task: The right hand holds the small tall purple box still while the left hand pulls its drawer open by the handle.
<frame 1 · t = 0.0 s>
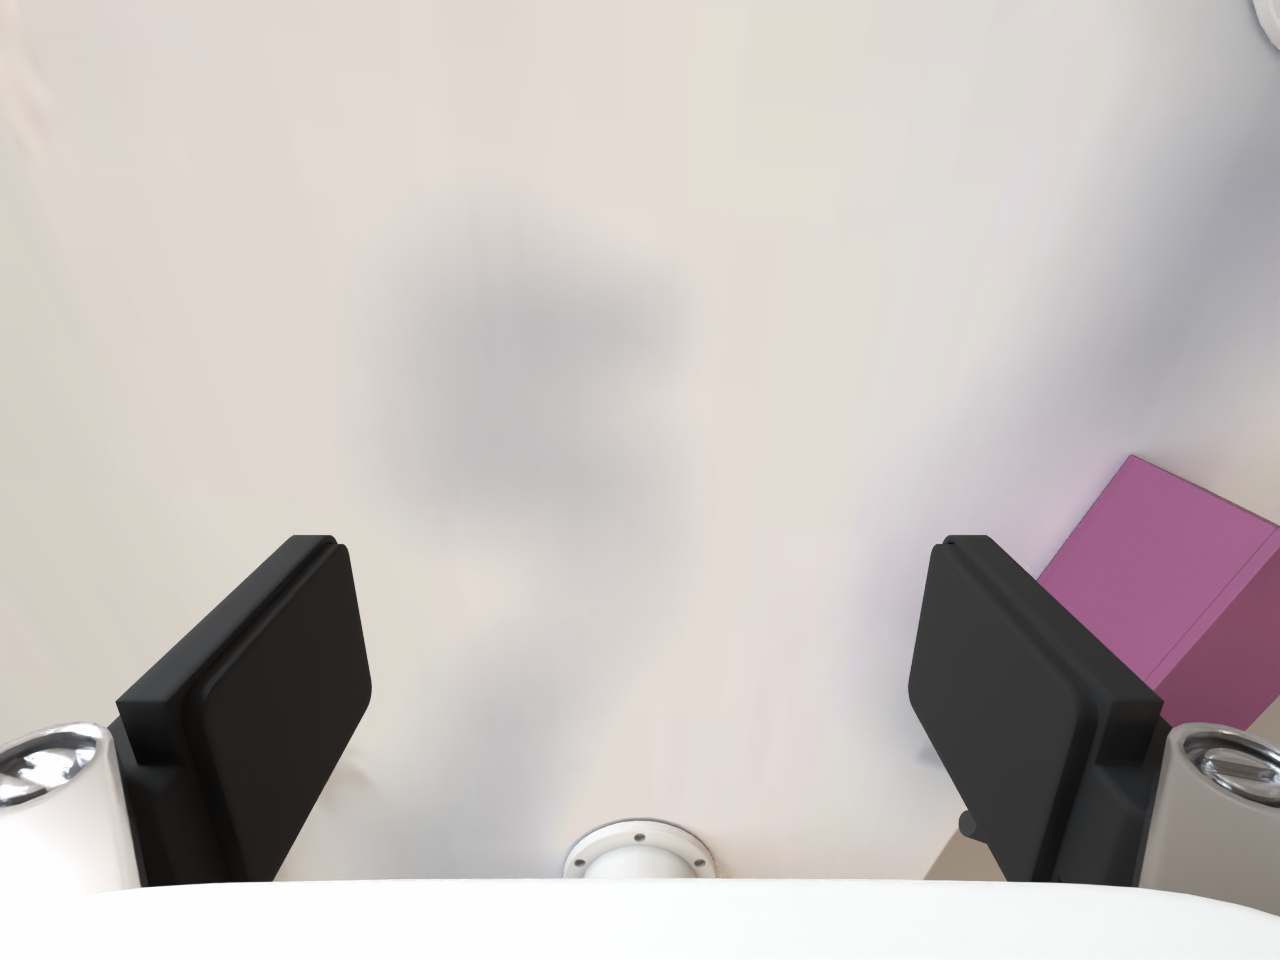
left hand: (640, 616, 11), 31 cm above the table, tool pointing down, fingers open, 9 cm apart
tall purple box: (1084, 584, 47), on the table
drawer: (1080, 704, 43), point 6 cm above the table, slide at 1.4 cm
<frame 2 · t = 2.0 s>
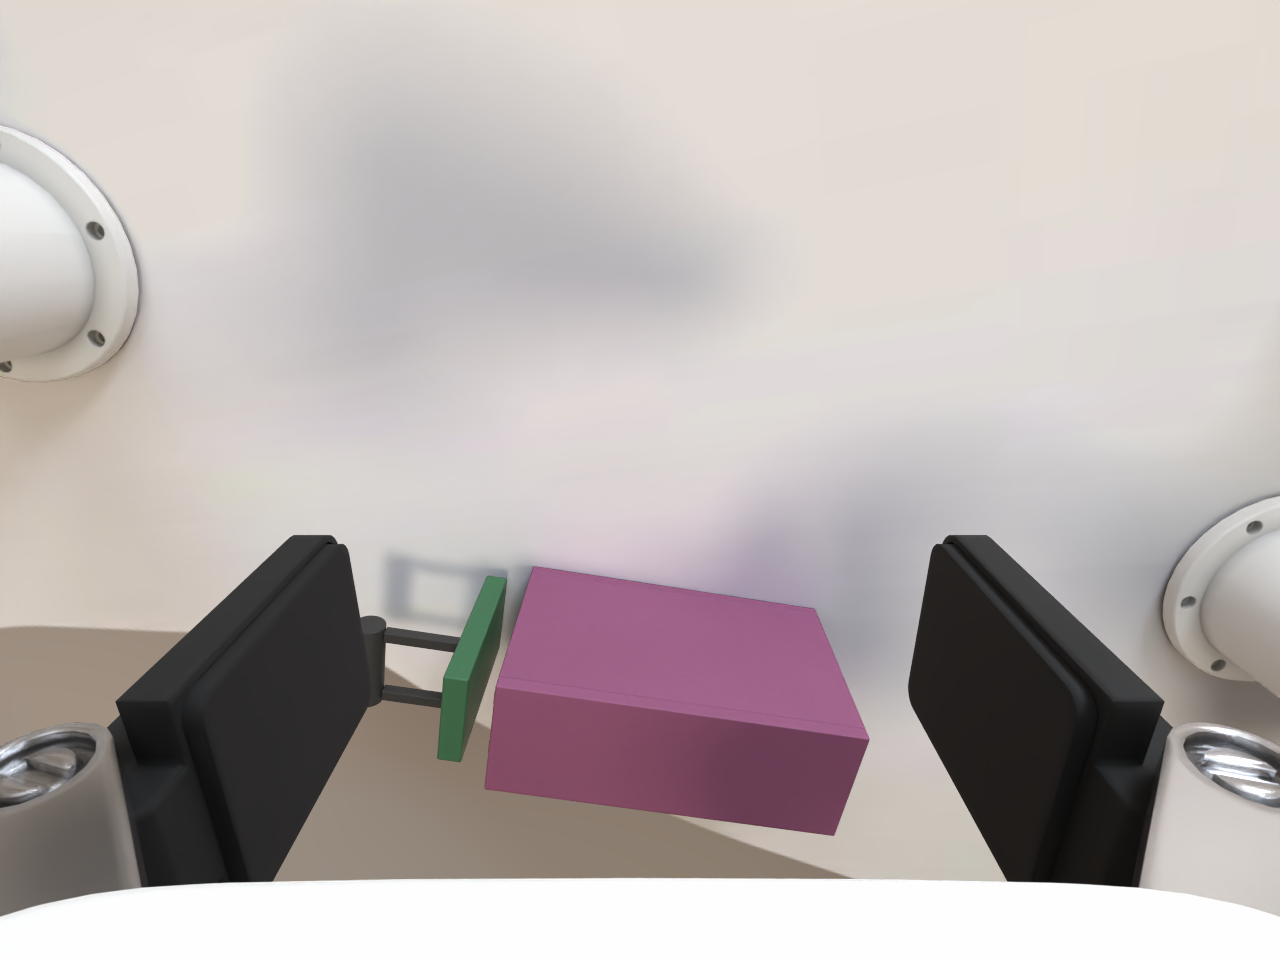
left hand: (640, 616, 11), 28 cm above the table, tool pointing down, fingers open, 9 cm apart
tall purple box: (666, 629, 44), on the table
drawer: (565, 673, 38), point 6 cm above the table, slide at 1.4 cm
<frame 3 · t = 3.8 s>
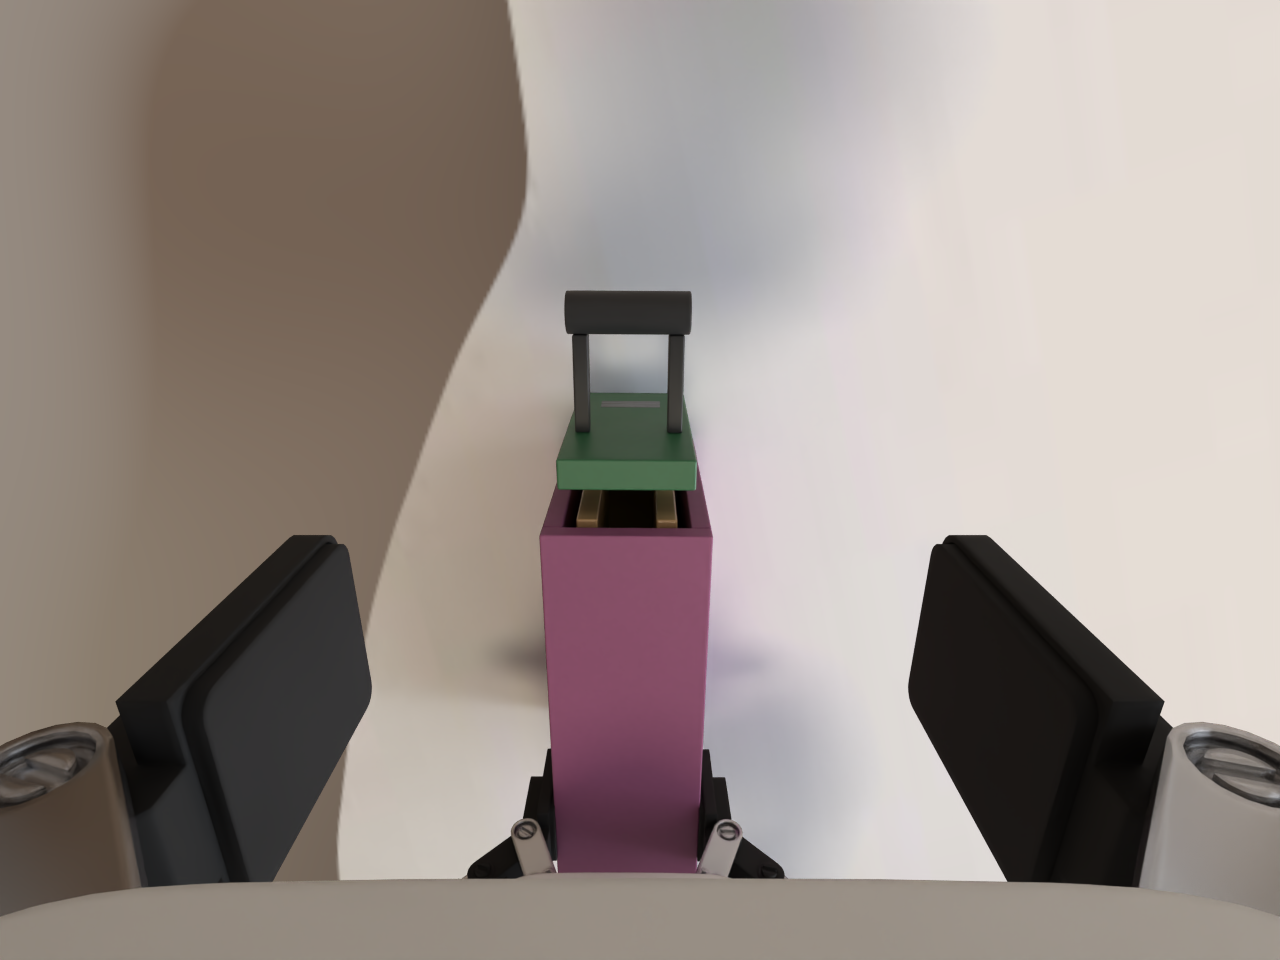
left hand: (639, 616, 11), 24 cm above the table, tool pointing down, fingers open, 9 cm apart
tall purple box: (631, 587, 39), on the table, touching right hand
drawer: (629, 539, 31), point 6 cm above the table, slide at 1.4 cm
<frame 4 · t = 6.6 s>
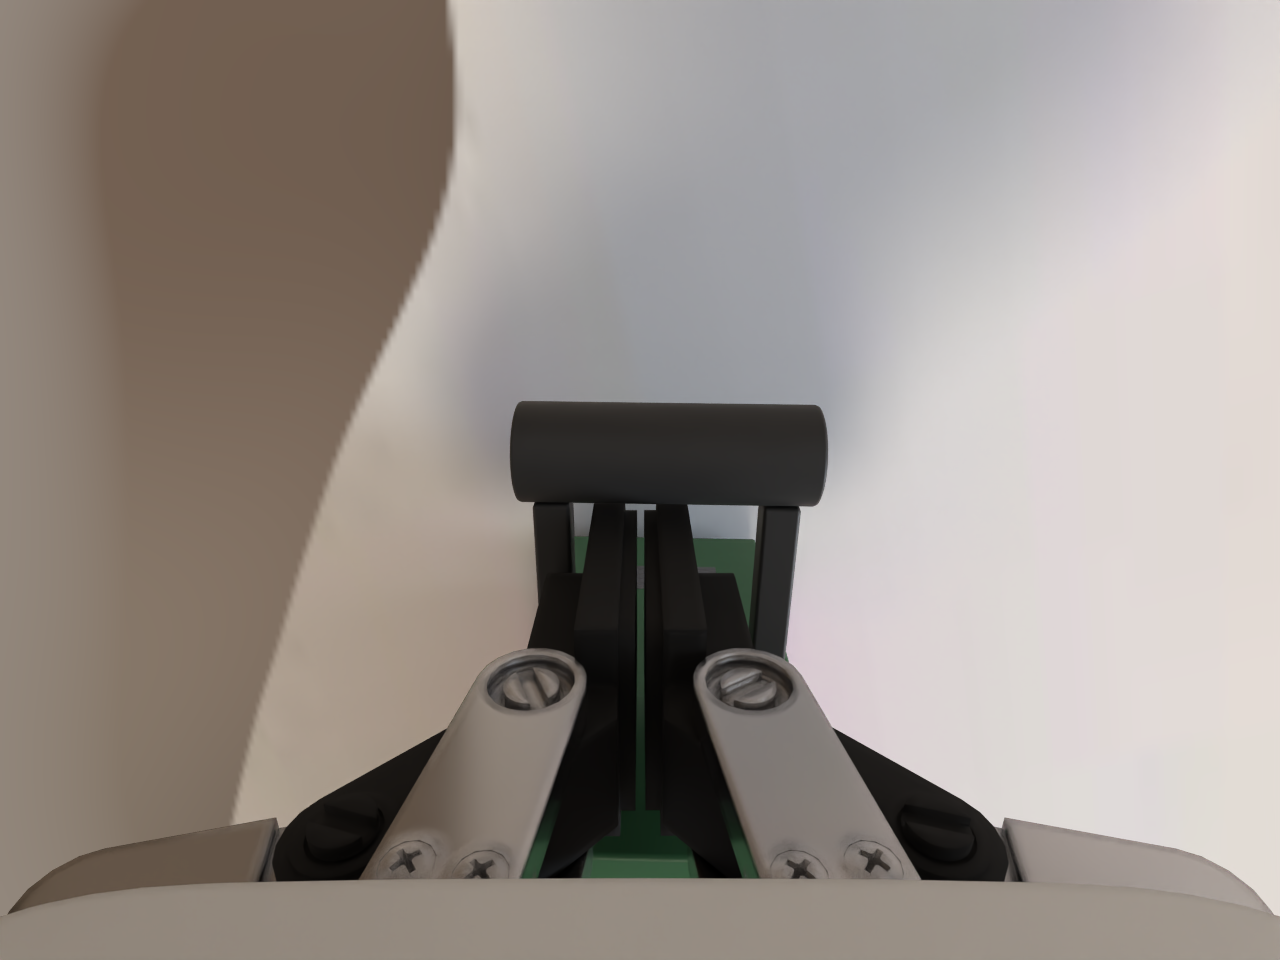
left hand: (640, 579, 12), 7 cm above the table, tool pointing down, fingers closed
drawer: (656, 842, 16), point 6 cm above the table, slide at 0.8 cm, touching left hand
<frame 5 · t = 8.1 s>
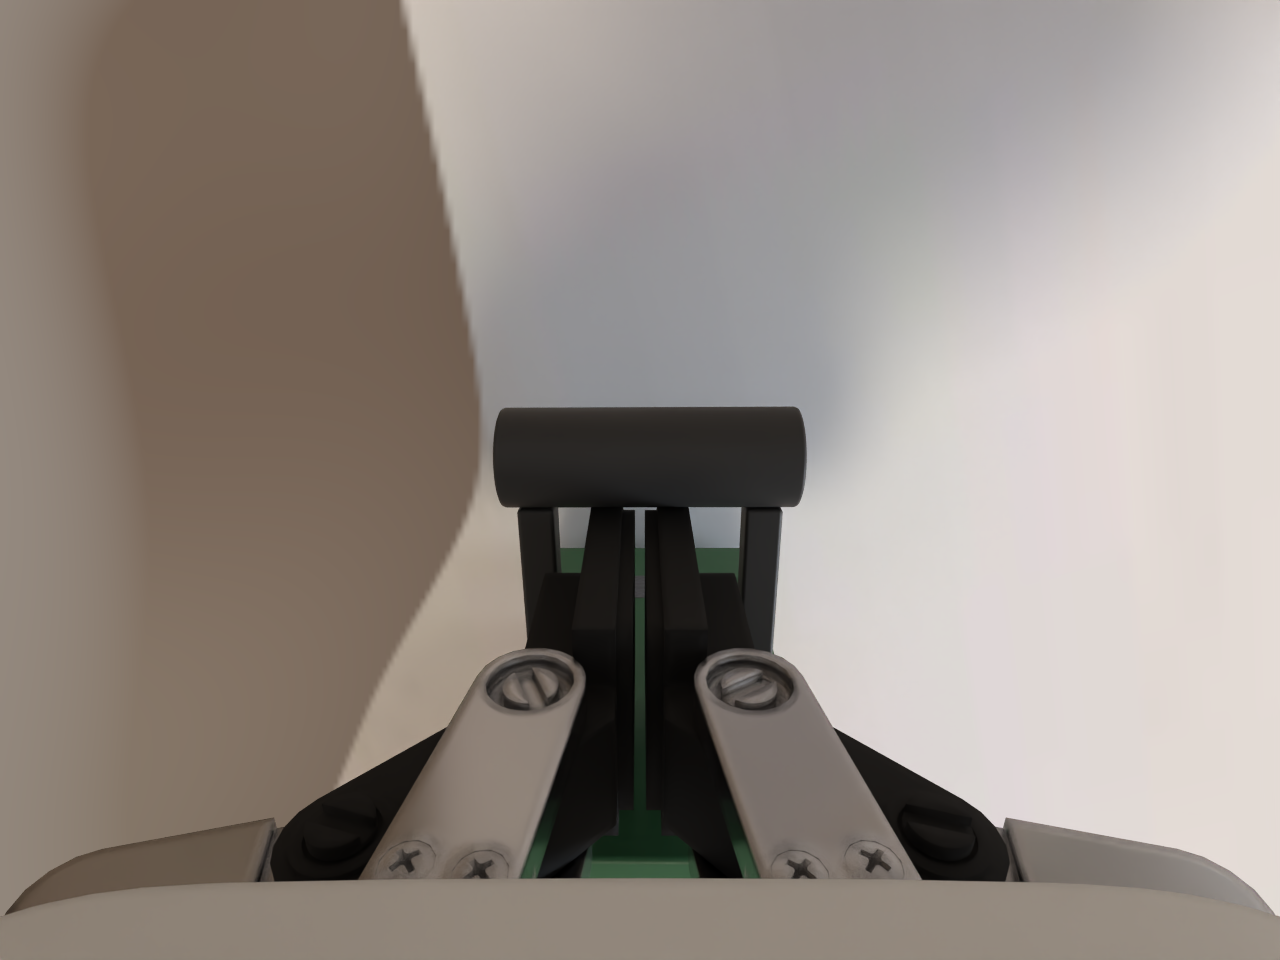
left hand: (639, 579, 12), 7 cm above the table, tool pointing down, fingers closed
drawer: (650, 854, 16), point 6 cm above the table, slide at 8.0 cm, touching left hand
when the right hand's fingers open (8 cm above the table, at t = 9.5 s): tall purple box stays where it is, on the table.
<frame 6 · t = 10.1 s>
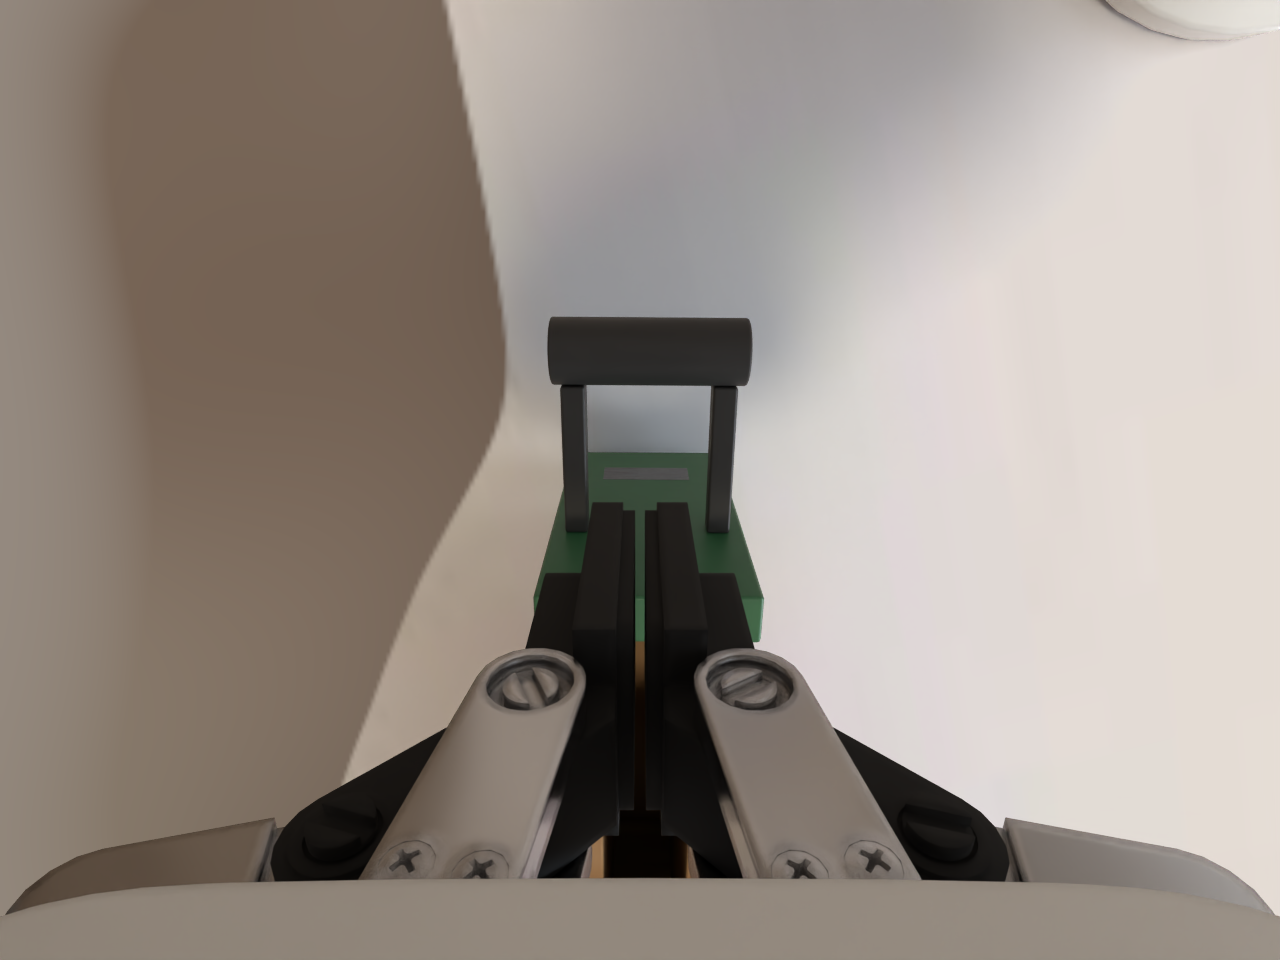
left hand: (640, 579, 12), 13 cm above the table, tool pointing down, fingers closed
drawer: (644, 670, 22), point 6 cm above the table, slide at 8.3 cm
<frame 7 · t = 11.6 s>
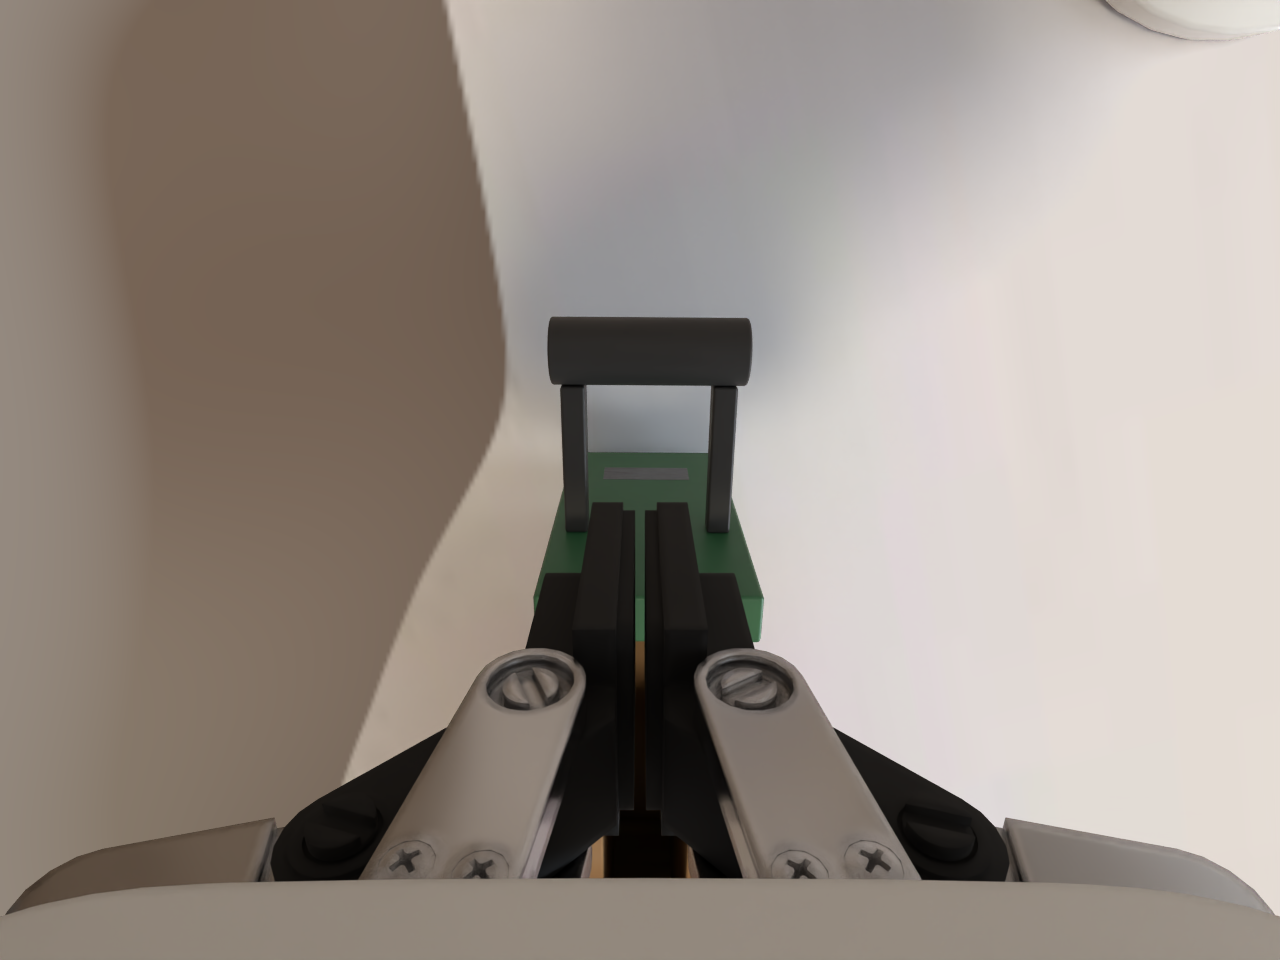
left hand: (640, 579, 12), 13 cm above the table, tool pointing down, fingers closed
drawer: (644, 670, 22), point 6 cm above the table, slide at 8.3 cm
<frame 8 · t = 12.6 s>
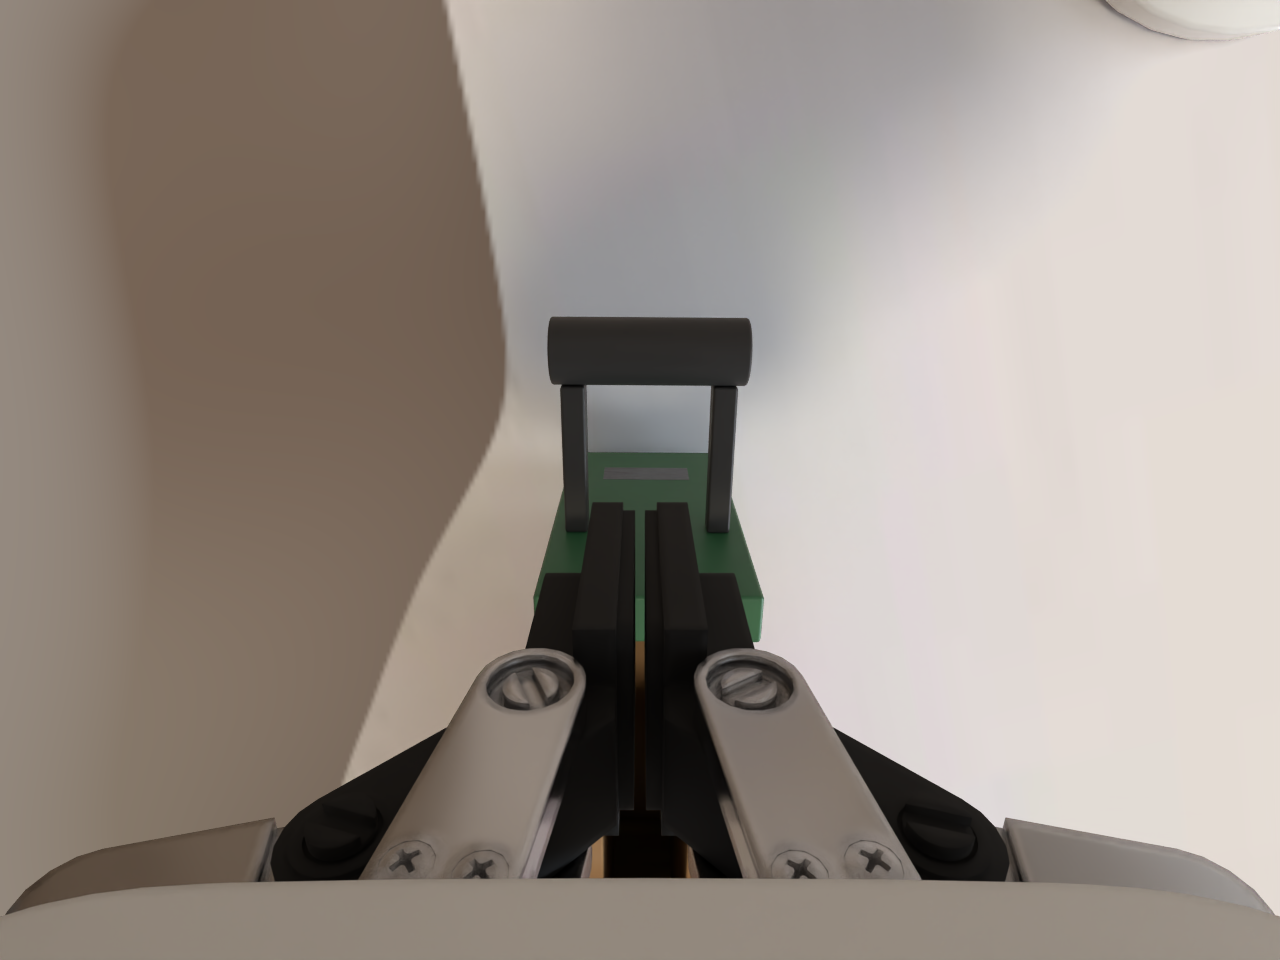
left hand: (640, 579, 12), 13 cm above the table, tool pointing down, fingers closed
drawer: (644, 670, 22), point 6 cm above the table, slide at 8.3 cm
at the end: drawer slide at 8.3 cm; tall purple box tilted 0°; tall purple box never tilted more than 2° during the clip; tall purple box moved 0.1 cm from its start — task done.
